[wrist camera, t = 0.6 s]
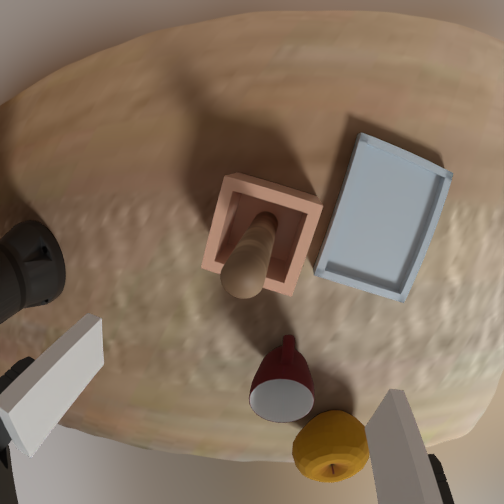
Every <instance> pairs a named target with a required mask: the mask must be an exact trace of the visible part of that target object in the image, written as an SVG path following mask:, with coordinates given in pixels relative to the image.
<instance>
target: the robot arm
mask: <svg viewBox="0 0 504 504" xmlns="http://www.w3.org/2000/svg"><path fill="white" fill-rule="evenodd" d="M64 285H65V264H64V260H63V256H62V253H61V250H60V248H59V245H58V243H57V241H56V240H55V238H54V237H53V235H52V234H51V232H50V231H49V230H48V229H47V228H46V227H45V226H44V225H42V224H41V223H39V222H36V221H32V220H29V221H25V222H22V223H19V224H17V225H15V226H14V227H13V228H12V229H11V230H10V231H9V232H8V233H6V234H5V235H4V236H3V237H2V238H1V239H0V324H1V323H3V322H4V321H6V320H7V319H8V318H10V317H11V316H13V315H14V314H16V313H17V312H18V311H20V310H21V309H23V308H29V307H35V306H40V305H46V304H48V303H50V302H52V301H53V300H54V299H56V298H57V297H58V296H59V295H60V294H61V293H62V291H63V288H64ZM103 365H104V358H103V341H102V318H100V317H97V316H95V315H92V314H90V313H87V314H86V315H85V316H84V317H83V318H81V319H80V320H79V321H78V322H77V323H76V324H75V325H74V326H72V327H71V328H70V329H69V330H68V331H67V332H66V333H65V334H63V335H62V336H61V337H60V338H59V339H58V340H57V341H56V342H55V343H54V344H52V345H51V346H50V347H49V348H48V349H47V350H46V351H45V352H44V353H43V354H42V355H41V356H39V357H38V358H37V359H36V360H34V359H33V358H31V357H26V358H24V359H22V360H19V361H18V362H17V363H16V364H14V365H13V366H12V367H11V369H10V370H8V371H7V372H6V373H5V375H3V376H1V377H0V504H18V500H17V495H16V490H15V484H14V478H13V472H12V466H11V457H10V449H9V446H8V444H9V443H10V441H11V440H12V441H13V443H14V445H15V447H16V448H17V449H18V450H20V451H21V452H23V453H24V454H26V455H27V456H28V457H30V458H32V456H33V455H34V453H35V452H36V451H37V449H38V448H39V447H40V445H41V444H42V443H43V441H44V440H45V439H46V437H47V436H48V435H49V433H50V432H51V431H52V429H53V428H54V427H55V425H56V424H57V423H58V422H59V420H60V419H61V418H62V416H63V415H64V414H65V412H66V411H67V410H68V409H69V407H70V406H71V405H72V403H73V402H74V401H75V400H76V398H77V397H78V396H79V395H80V393H81V392H82V391H83V390H84V388H85V387H86V386H87V385H88V383H89V382H90V381H91V380H92V378H93V377H94V376H95V375H96V373H97V372H98V371H99V370H100V368H101V367H102V366H103ZM365 433H366V438H367V443H368V448H369V453H370V458H371V463H372V469H373V474H374V480H375V485H376V492H377V498H378V504H454V501H453V498H452V495H451V492H450V488H449V485H448V482H446V480H447V479H446V477H445V474H444V471H443V468H442V465H441V462H440V461H439V460H438V459H437V457H436V456H435V455H434V454H427V451H426V449H425V446H424V443H423V440H422V437H421V434H420V432H419V429H418V426H417V424H416V421H415V418H414V416H413V413H412V410H411V408H410V405H409V403H408V400H407V398H406V395H405V393H404V390H397V389H389V391H388V392H387V394H386V396H385V397H384V399H383V400H382V402H381V404H380V405H379V407H378V408H377V410H376V411H375V413H374V414H373V416H372V417H371V419H370V420H369V422H368V423H367V425H366V426H365Z"/></svg>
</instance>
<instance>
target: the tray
mask: <svg viewBox="0 0 504 504" xmlns="http://www.w3.org/2000/svg"><path fill="white" fill-rule="evenodd" d="M452 177H453V173H452V172H450V171H448V170H446V169H444V168H442V167H440V166H438V165H436V164H434V163H432V162H430V161H428V160H425V159H423V158H421V157H419V156H417V155H415V154H413V153H410V152H408V151H406V150H404V149H401V148H399V147H397V146H394V145H392V144H390V143H387V142H385V141H382V140H380V139H377V138H375V137H372V136H370V135H367V134H365V133H362V132H361V133H359V134H358V135H357V138H356V142H355V145H354V148H353V152H352V155H351V158H350V162H349V165H348V168H347V171H346V174H345V178H344V181H343V184H342V187H341V190H340V193H339V196H338V199H337V202H336V205H335V208H334V211H333V214H332V217H331V220H330V223H329V226H328V229H327V232H326V234H325V237H324V240H323V243H322V246H321V249H320V251H319V254H318V257H317V260H316V262H315V265H314V268H313V272H314V275H315V276H318V277H321V278H325V279H328V280H331V281H334V282H337V283H341V284H344V285H347V286H350V287H354V288H357V289H360V290H363V291H367V292H370V293H373V294H376V295H380V296H383V297H386V298H389V299H393V300H396V301H399V302H402V303H404V302H405V300H406V298H407V295H408V293H409V291H410V289H411V287H412V285H413V282H414V280H415V278H416V276H417V273H418V271H419V269H420V266H421V264H422V262H423V259H424V257H425V254H426V252H427V249H428V247H429V244H430V242H431V239H432V236H433V234H434V231H435V228H436V226H437V223H438V220H439V217H440V214H441V212H442V209H443V206H444V203H445V200H446V196H447V193H448V190H449V187H450V184H451V180H452Z"/></svg>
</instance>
